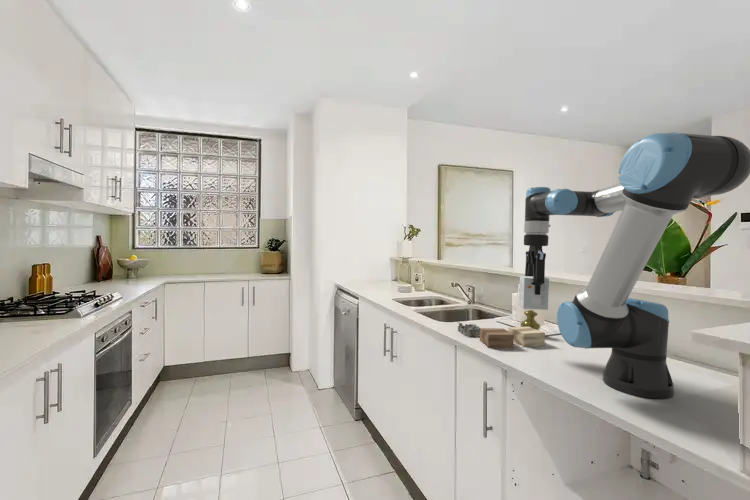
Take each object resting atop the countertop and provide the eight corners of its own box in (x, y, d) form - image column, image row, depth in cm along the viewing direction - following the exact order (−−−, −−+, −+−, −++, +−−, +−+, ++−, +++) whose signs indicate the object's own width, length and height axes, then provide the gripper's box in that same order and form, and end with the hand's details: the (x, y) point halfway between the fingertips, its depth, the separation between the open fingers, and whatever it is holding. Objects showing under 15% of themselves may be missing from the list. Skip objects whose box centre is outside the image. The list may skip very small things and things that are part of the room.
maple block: (544, 346, 131) (545, 332, 131) (523, 347, 129) (523, 333, 129) (527, 339, 140) (528, 326, 140) (507, 340, 138) (508, 327, 137)
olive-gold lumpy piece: (517, 332, 150) (518, 308, 149) (535, 332, 150) (536, 308, 149) (524, 337, 142) (525, 311, 142) (543, 337, 142) (544, 312, 142)
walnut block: (513, 349, 127) (513, 334, 126) (488, 348, 126) (488, 334, 126) (503, 341, 136) (503, 328, 135) (479, 341, 135) (480, 328, 135)
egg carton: (456, 330, 151) (456, 320, 151) (473, 330, 151) (474, 321, 151) (463, 337, 140) (463, 326, 140) (482, 337, 141) (482, 327, 141)
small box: (542, 306, 124) (543, 276, 124) (548, 310, 118) (549, 278, 118) (518, 305, 125) (519, 275, 124) (522, 309, 119) (524, 277, 119)
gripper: (558, 234, 111) (554, 308, 112) (539, 234, 129) (536, 298, 130) (532, 233, 112) (529, 307, 113) (517, 233, 130) (514, 297, 131)
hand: (533, 302), depth 122 cm, fingers closed on small box, 6 cm apart
